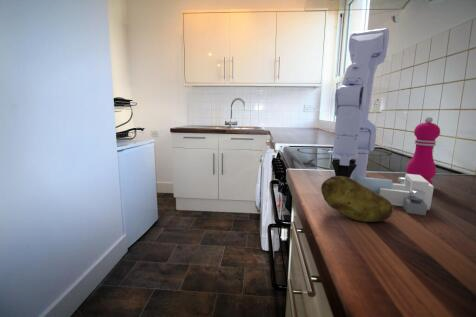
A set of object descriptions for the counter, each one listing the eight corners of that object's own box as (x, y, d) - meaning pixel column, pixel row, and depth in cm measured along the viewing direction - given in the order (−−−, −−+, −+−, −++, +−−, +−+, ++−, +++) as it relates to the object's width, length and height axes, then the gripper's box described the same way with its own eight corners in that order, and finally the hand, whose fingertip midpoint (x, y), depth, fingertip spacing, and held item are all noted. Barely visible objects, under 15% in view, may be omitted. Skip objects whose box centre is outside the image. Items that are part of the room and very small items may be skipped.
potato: (385, 234, 45) (391, 190, 43) (314, 214, 53) (317, 176, 51) (392, 219, 51) (398, 180, 50) (328, 203, 59) (331, 170, 58)
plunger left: (395, 191, 68) (397, 176, 68) (407, 193, 67) (409, 177, 67) (397, 194, 66) (399, 179, 65) (409, 196, 65) (412, 180, 64)
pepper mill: (423, 182, 79) (434, 117, 76) (439, 189, 72) (452, 117, 69) (399, 181, 80) (408, 116, 76) (412, 188, 73) (423, 117, 69)
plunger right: (405, 206, 57) (408, 188, 57) (420, 209, 56) (423, 190, 56) (408, 211, 55) (411, 192, 54) (423, 213, 54) (426, 194, 53)
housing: (373, 189, 71) (376, 167, 69) (416, 194, 67) (420, 171, 66) (381, 209, 56) (384, 182, 55) (436, 217, 53) (441, 188, 52)
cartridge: (335, 189, 69) (337, 172, 68) (387, 195, 64) (390, 178, 63) (335, 193, 65) (337, 175, 64) (390, 201, 61) (393, 182, 60)
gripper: (330, 132, 72) (326, 179, 74) (328, 136, 59) (323, 193, 61) (358, 133, 69) (353, 182, 72) (362, 138, 56) (355, 197, 59)
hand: (341, 187), depth 66 cm, fingers closed on cartridge, 3 cm apart
